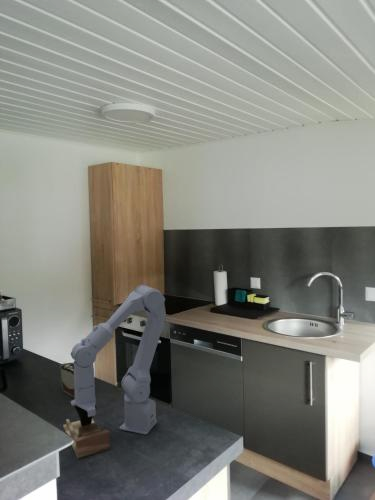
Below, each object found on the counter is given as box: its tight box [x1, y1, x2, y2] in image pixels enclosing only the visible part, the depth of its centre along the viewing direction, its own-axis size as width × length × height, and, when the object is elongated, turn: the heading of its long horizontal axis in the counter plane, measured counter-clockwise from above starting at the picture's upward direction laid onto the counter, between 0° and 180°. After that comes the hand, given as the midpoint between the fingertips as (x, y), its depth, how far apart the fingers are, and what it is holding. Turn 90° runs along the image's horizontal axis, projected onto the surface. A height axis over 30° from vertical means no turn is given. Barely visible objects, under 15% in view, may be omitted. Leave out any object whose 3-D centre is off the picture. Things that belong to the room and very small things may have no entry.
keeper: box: [78, 422, 101, 438], centre depth 109 cm, size 5×5×4 cm
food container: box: [59, 362, 75, 399], centre depth 144 cm, size 12×6×10 cm, turn 47°
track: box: [62, 417, 111, 460], centre depth 113 cm, size 18×9×5 cm, turn 30°
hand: (86, 428), depth 112 cm, fingers closed
